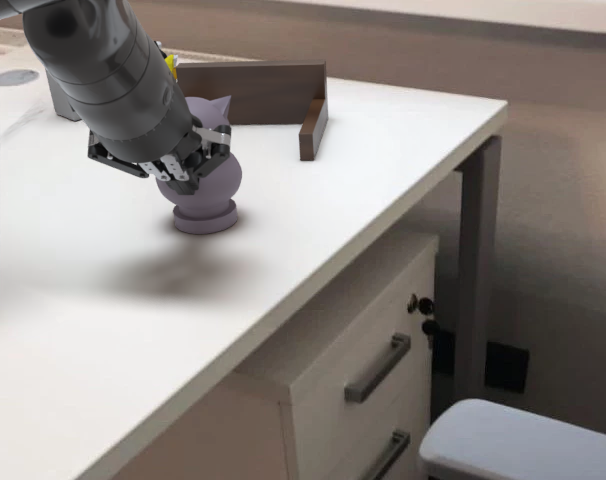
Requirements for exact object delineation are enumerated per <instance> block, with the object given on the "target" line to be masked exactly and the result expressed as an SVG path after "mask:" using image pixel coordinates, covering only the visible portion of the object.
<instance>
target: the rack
mask: <svg viewBox="0 0 606 480" xmlns="http://www.w3.org/2000/svg"><path fill="white" fill-rule="evenodd" d="M176 66H177V67H176V75H177V80H176V82H177V83H178V85H179V87H180V89H181V91H182V92H183V94H184V97H199V98H203V99H206V100H209V101H212V100H215V99H219V98H223V97H227V96H230V95H231V100H230V105H229V110H228V115H227V119H228V121H229V124H230V126H249V125H250V124H260V125H301V127H300V129H299V132H298V146H299V147H298V148H299V161H314V160H315V159H316V156H317V152H318V150H319V146H320V144H321V141H322V137H323V135H324V132H325V129H326V126H327V124H328V120H329V101H328V78H327V59H326V58H325V59H324V58H322V59H293V60H292V59H283V60H280V59H279V60H246V61H243V60H242V61H211V62H210V61H208V62H207V61H206V62H179V63H178V64H176ZM247 124H249V125H247ZM250 126H251V125H250Z"/></svg>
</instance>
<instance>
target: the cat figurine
mask: <svg viewBox="0 0 606 480" xmlns="http://www.w3.org/2000/svg"><path fill="white" fill-rule="evenodd" d="M185 99H186V102H187V104H188V107H189V111H190V113H191V114H193V115H194V116H196V117H198V118H199V119H200V120H201V122H202V124H203V128H206V129H213V130H214V129H215V128H216V127H217V126H219V125H228V126H230V127H231V125H230V124H229V121H228V119H227V115H228V110H229V105H230V100H231V95H230V96H227V97H223V98H219V99H215V100H212V101H209V100H206V99H203V98H199V97H185ZM193 152H195V150H194V151H193ZM154 178H155V179H154V180H155V182H156V186H157V188H158V190H159V192H160V194H161V195H162V197H163V198H165V199H166V200H167V201H169V202H170V203H172V204H174V207H173V209H172V214H173V215H172V216H173V221H174V225H175V228H176V229H178V230H179V231H180V232H183V233H186V234H194V235H206V234H213V233H218V232H222V231H224V230H227V229H229V228H230V227H232V226H234V224H235V223H236V222H237V221H238V217H239V216H238V209H237V208H238V207H237V203H236V201H235V200H234V199H232V198H233V197H234V196H235V195H236V194H237V192H238V191H239V189H240V187H241V184H242V180H243V169H242V166H241V164H240V161H239V160H238V159H237V157H236V156H235V154H234V153H233V152H231V151H230V157H229V158H228V159H227V160H226V161H225V162H223V163H222V164H221V165H220V166H219V167H217V168H216V169H215V170H214V171H213V172H211V173H210V174H209V175H208V176H207V177H205V178H200V180H199V189H198V190H195V194H194V195H178V194H177V192H176V191H175V190H172V189H170V188H169V187H168V185H167V184H166V183H165V181H161V180H159V179H157V178H156V176H155V175H154Z"/></svg>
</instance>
